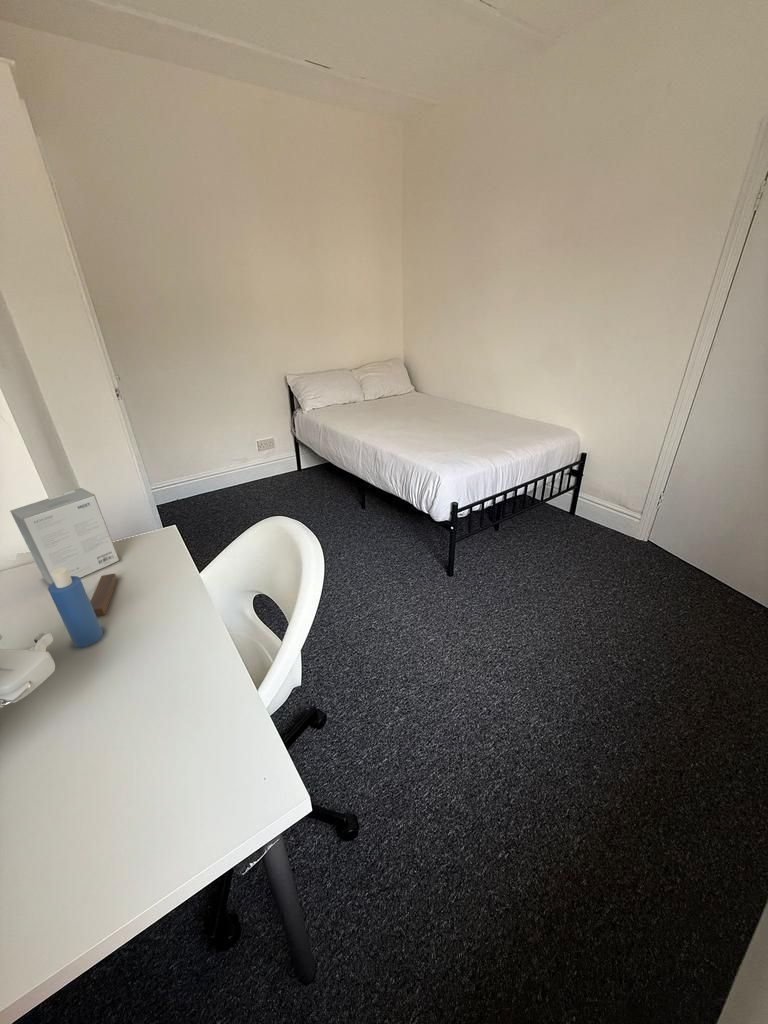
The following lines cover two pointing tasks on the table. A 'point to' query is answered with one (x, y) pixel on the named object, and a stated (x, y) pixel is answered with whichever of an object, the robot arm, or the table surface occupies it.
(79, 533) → the hard drive box
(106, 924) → the table surface
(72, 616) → the blue bottle
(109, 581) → the walnut bar
